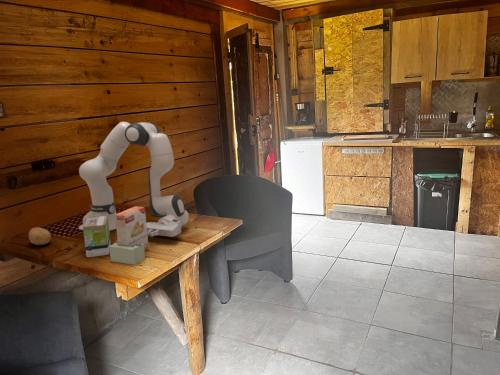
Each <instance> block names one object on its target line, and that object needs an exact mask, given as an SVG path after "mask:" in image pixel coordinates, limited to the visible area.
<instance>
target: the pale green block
mask: <svg viewBox="0 0 500 375" xmlns="http://www.w3.org/2000/svg"><path fill="white" fill-rule="evenodd" d="M109 249H110V250H109V255H110V262H114V263H121V264H126V265H132V266H136V265H138V264H139V263H141V262H143V261H144V260H145V259H146V254H145V252H146V251H145V252H144V244H142V243H141V242H138V243H136V246H134V247H126V246H119V245H118V239H117V240H115V243H113V244H110V246H109Z"/></svg>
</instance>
